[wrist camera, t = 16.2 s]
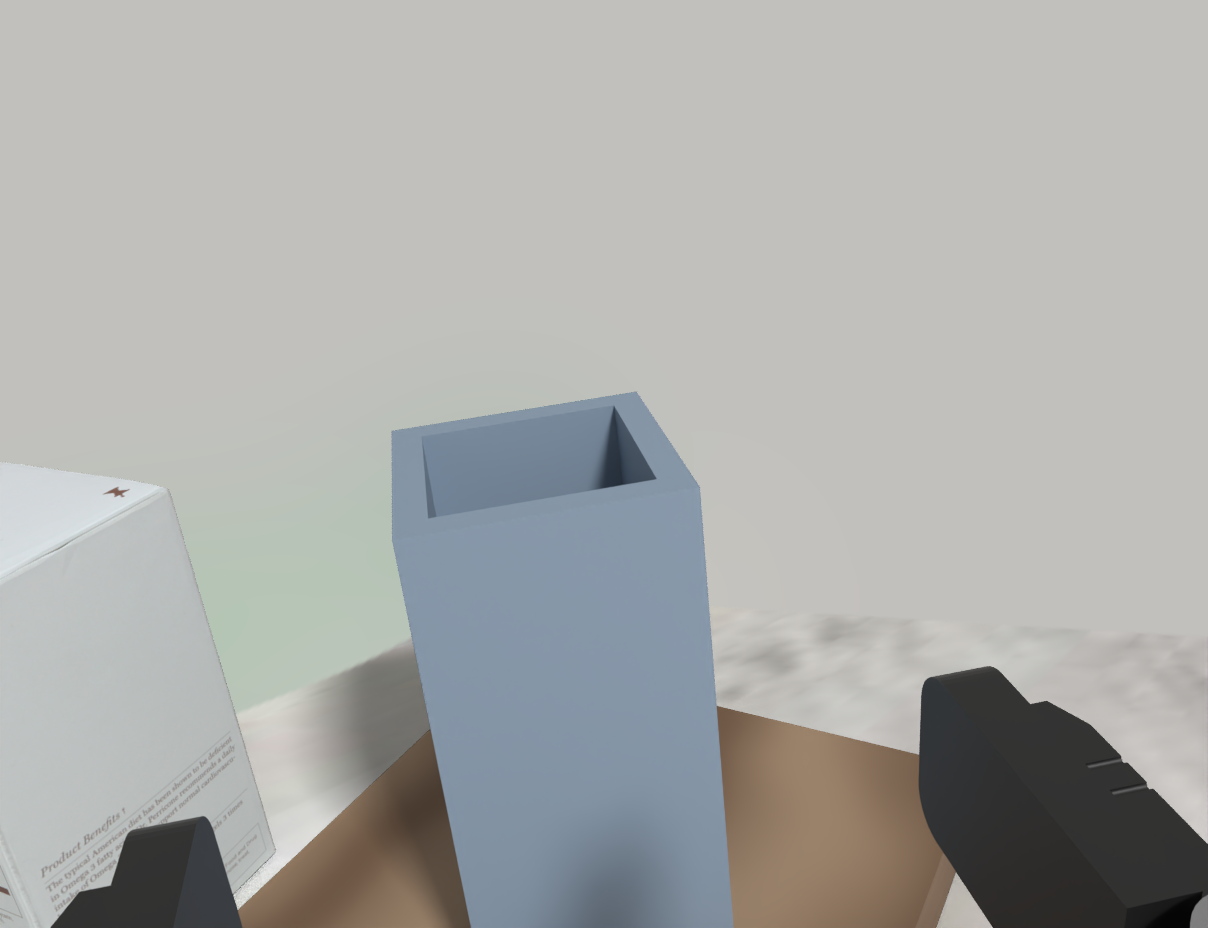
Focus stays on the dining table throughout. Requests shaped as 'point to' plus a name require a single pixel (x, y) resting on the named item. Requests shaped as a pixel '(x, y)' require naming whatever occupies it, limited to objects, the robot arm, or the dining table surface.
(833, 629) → the dining table surface
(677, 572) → the sleeve
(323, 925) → the base plate
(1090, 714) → the dining table surface
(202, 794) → the supplement box
